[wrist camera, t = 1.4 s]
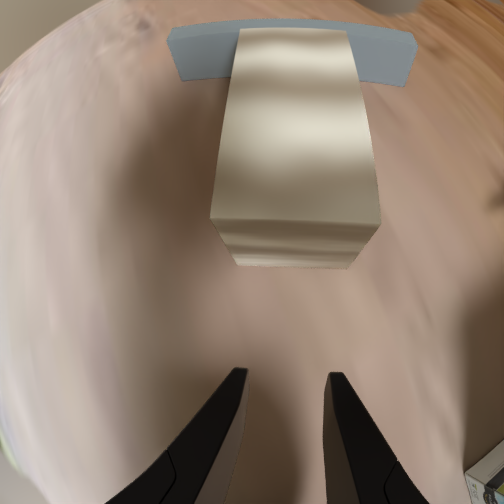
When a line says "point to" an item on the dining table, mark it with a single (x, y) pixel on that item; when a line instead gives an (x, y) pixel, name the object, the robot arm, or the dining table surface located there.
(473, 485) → the tea box
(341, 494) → the robot arm
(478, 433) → the dining table surface
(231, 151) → the block
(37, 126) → the dining table surface
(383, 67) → the board
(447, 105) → the dining table surface
